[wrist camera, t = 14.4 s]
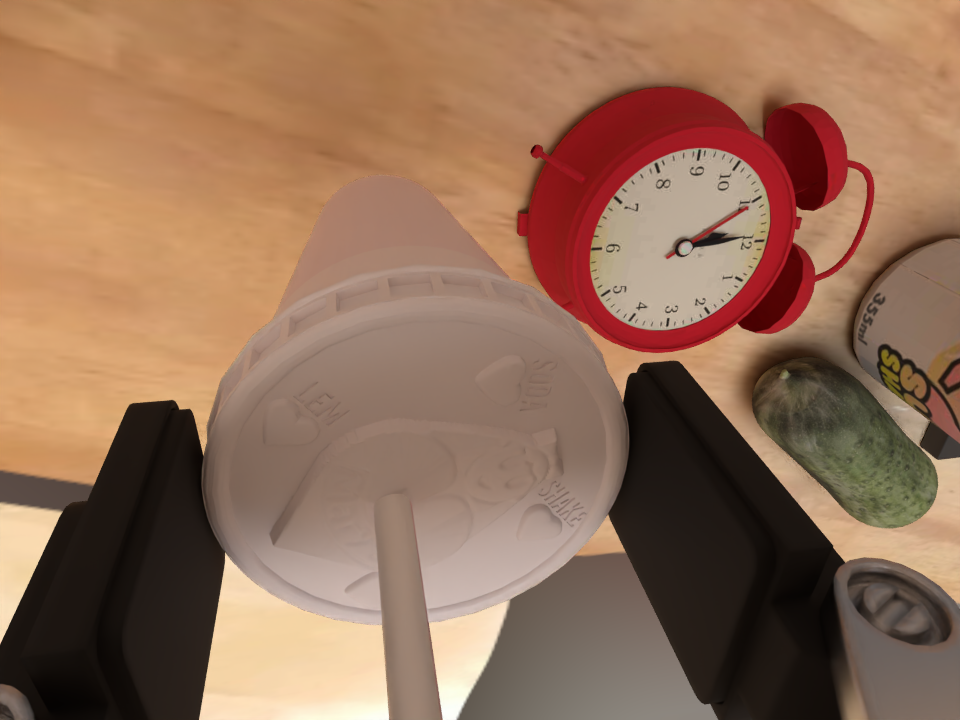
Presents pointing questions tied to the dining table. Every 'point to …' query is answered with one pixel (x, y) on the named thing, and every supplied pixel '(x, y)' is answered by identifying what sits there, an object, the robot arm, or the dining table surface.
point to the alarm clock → (684, 217)
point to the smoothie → (409, 432)
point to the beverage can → (916, 332)
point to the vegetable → (845, 441)
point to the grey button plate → (940, 443)
